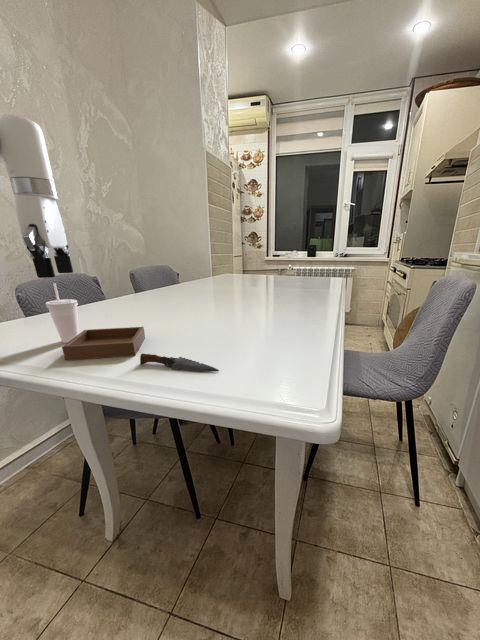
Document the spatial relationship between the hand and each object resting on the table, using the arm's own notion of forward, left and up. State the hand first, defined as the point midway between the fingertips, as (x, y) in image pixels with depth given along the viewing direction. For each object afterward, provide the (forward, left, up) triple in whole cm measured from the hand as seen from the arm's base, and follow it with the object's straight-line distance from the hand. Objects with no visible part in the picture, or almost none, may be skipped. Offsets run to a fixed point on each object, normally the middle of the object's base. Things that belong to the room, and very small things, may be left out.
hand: (57, 275), depth 67 cm
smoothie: (0, 0, -16) cm, 16 cm away
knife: (+27, -22, -16) cm, 38 cm away
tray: (+11, -8, -16) cm, 21 cm away
